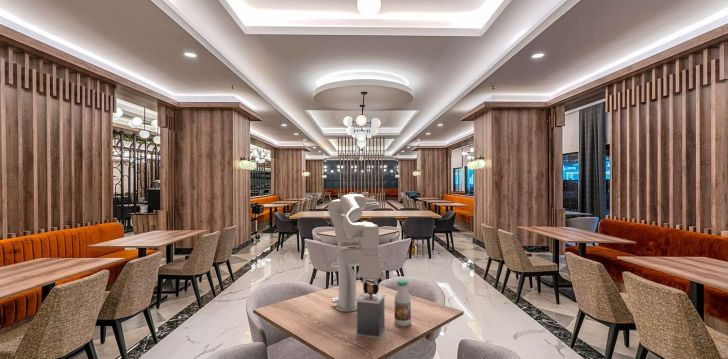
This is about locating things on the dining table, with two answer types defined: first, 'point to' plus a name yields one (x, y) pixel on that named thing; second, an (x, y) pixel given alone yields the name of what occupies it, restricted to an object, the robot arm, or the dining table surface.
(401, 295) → the milk bottle
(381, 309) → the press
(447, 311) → the dining table surface
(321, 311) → the dining table surface
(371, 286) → the plunger
